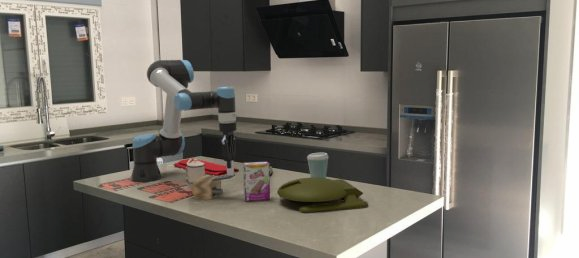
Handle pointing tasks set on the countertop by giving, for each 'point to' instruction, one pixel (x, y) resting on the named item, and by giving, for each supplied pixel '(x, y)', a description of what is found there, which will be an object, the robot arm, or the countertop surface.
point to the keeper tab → (222, 177)
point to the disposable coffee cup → (318, 164)
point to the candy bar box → (256, 181)
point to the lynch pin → (214, 191)
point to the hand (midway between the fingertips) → (230, 175)
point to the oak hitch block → (205, 187)
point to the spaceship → (322, 194)
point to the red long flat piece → (206, 167)
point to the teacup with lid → (195, 170)
